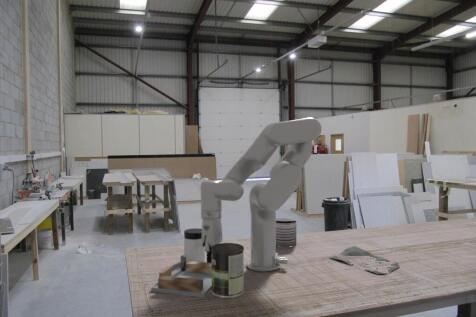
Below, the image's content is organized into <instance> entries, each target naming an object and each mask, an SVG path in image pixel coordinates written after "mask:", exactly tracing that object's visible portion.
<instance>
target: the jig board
mask: <svg viewBox="0 0 476 317" xmlns="http://www.w3.org/2000/svg"><path fill="white" fill-rule="evenodd" d="M161 276H170V277H180V278H190V279H199V280H203V290H202V291H201V292H200V293H196V292H187V291H178V290H169V289H160V288H158V282H156V283H154V285H152V286H151V287H150V290H151V292H155V293H162V294H163V293H164V294H172V295H180V296H190V297H197V298H205V297H206V296H207V295H208V294H209V293H210V292H211V291H212V274H203V273H193V272H186V271H181V266H177V267H176V268H175V269H174V270H172V267H171V266H166V267H165V268H163V270H161V271H159V273H158V279H159V278H160V277H161Z"/></svg>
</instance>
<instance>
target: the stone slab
mask: <svg viewBox="0 0 476 317" xmlns="http://www.w3.org/2000/svg"><path fill="white" fill-rule="evenodd" d="M338 255H343V256H370V257H373V258H376V260H375V261H386V262H391V261H390V260H389V259H387V258H384V257H382V256H377V255H374V254H371V253H370V252H369V251H367V250H365V249H363V248H360V247H357V246H356V245H354V246H351V247H348V248H345V249H344V250H343V251H341V253H339V254H338ZM328 258H329V259H334V260H339V261H342V262H344V263H346V264H348V265H350V263H351V262H349V261H345V260H346V259H344V260H342V259H343V258H341V257H340V258H341V259H340V258H338V257H337V256H336V255H332V256H331V255H330V256H328ZM360 263H361V264H365V265H369V264H370V263H366V262H360ZM378 263H379V264H381V263H382V262H378ZM394 263H395V264H391V266H394V267H387V268H390V269H389V270H388V272H389V274H390V273H391V272H393V271H394V270H396V269H397V268H399V267H401V266H400V265H399V263H398V262H394ZM361 264H360V265H361ZM350 266H351V265H350ZM387 268H386V269H387ZM365 270H366V271H365V272H371V273H374V274H377V275H378V274H379V275H380V274H381V275H388V274H387V272H382V273H381V271H379V270H378V267H377V268H376V269H375V270H373V271H369V270H370V269H365ZM378 271H379V272H378ZM385 273H386V274H385Z"/></svg>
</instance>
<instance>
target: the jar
mask: <svg viewBox="0 0 476 317" xmlns="http://www.w3.org/2000/svg"><path fill="white" fill-rule="evenodd" d="M183 249H184V251H183V255H186V263H187V262H188V261H195V262H205V259H206V258H205V256H206V251H205V247H203V246H202V228H196V227H195V228H194V227H193V228H188V229H184V230H183Z"/></svg>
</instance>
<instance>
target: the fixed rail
mask: <svg viewBox="0 0 476 317" xmlns="http://www.w3.org/2000/svg"><path fill="white" fill-rule="evenodd" d="M157 283H158V288H160V289H169V290H178V291H187V292H196V293H200V292H201V291H202V290H203V280H199V279H190V278H180V277H170V276H161V277H160V278H159V277H158V278H157Z"/></svg>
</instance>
